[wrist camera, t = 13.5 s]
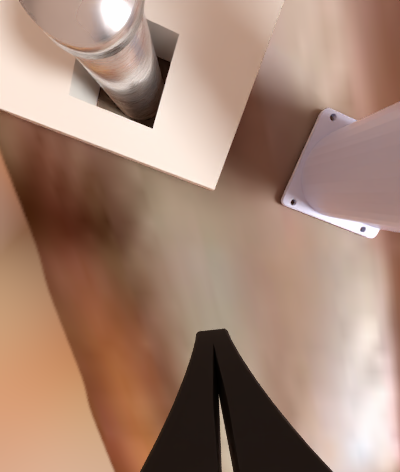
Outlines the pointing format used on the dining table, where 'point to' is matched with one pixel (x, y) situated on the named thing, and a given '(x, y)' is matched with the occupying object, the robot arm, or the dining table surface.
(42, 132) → the dining table surface
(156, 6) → the plate
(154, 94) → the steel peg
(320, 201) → the robot arm
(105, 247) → the dining table surface
